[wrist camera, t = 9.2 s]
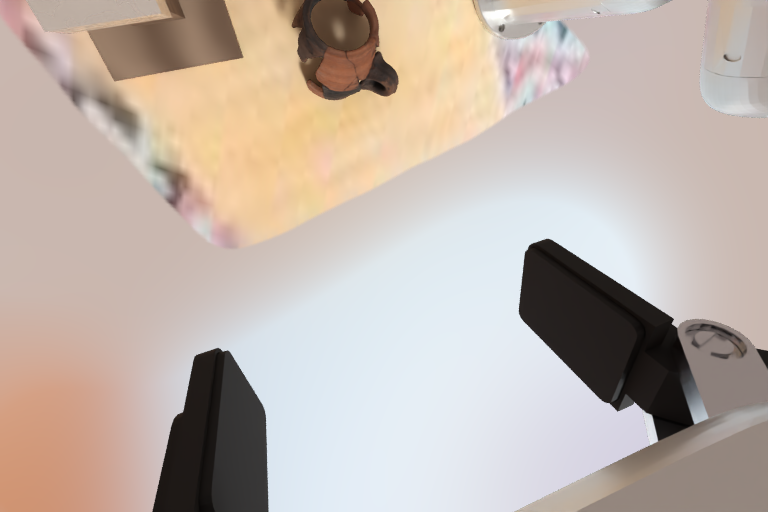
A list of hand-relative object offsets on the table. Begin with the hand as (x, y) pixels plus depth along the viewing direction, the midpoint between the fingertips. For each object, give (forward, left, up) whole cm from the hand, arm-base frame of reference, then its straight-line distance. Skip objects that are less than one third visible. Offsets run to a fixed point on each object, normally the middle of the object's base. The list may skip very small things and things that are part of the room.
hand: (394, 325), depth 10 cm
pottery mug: (-7, -5, -37) cm, 38 cm away
